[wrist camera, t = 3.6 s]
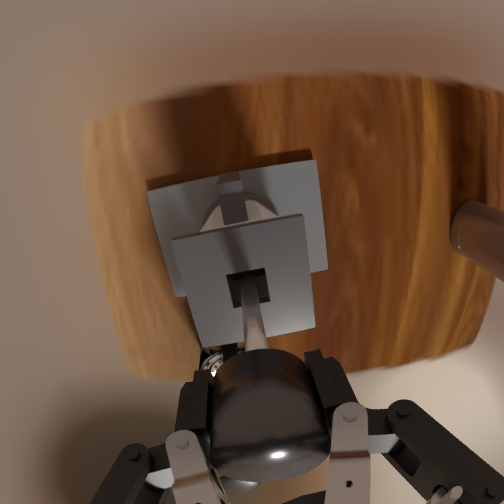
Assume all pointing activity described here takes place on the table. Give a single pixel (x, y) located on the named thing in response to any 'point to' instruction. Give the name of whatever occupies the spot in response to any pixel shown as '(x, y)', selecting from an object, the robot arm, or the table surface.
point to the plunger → (264, 408)
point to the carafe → (245, 266)
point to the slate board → (253, 181)
